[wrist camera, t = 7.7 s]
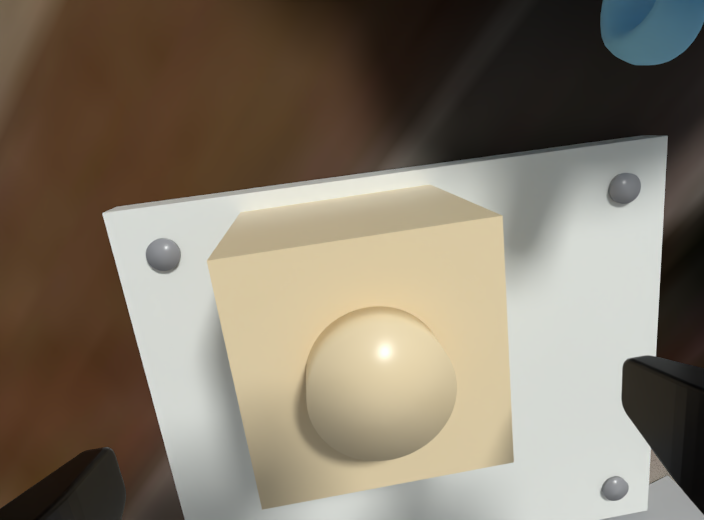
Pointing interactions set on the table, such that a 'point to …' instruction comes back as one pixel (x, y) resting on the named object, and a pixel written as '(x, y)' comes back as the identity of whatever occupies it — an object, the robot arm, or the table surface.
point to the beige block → (366, 340)
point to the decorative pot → (650, 28)
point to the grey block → (665, 504)
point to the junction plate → (523, 334)
